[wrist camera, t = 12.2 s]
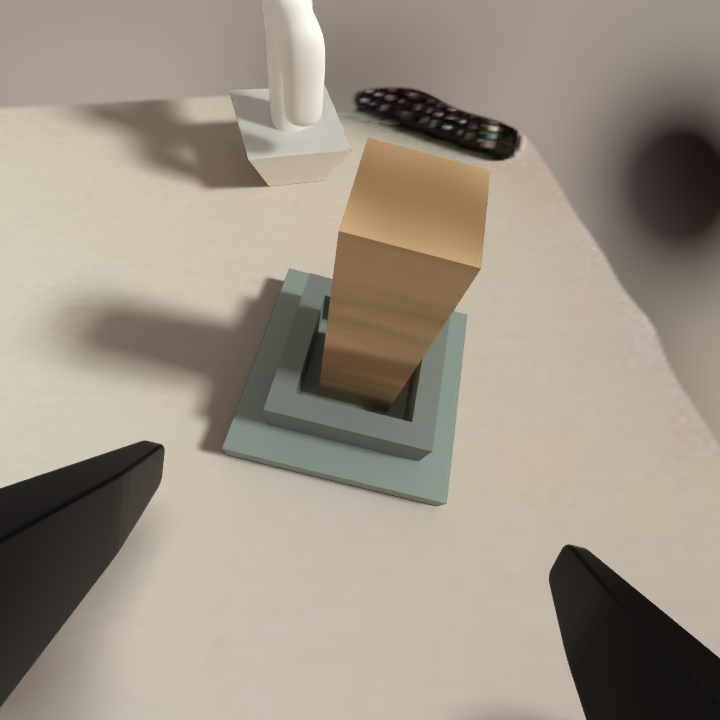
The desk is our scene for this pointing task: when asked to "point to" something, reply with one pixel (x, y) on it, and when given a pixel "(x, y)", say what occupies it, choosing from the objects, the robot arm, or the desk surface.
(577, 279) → the desk surface
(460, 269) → the oak stick
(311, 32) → the figurine
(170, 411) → the desk surface
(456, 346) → the socket holder
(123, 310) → the desk surface
